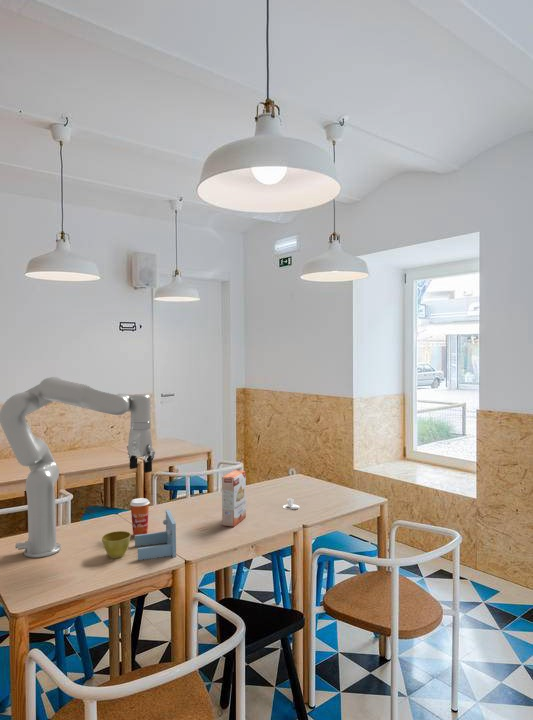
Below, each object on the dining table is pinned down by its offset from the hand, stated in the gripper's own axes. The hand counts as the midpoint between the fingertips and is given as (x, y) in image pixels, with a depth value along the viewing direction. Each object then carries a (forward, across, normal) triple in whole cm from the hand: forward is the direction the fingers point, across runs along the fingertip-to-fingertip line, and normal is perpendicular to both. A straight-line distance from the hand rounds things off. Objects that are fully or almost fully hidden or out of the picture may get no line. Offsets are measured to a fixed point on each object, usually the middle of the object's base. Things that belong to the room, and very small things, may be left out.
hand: (140, 470), depth 198 cm
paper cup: (+28, -8, +5) cm, 30 cm away
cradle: (+28, +10, -2) cm, 30 cm away
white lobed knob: (+28, +16, +70) cm, 77 cm away
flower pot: (+28, +4, -13) cm, 32 cm away
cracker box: (+28, +10, +41) cm, 50 cm away
